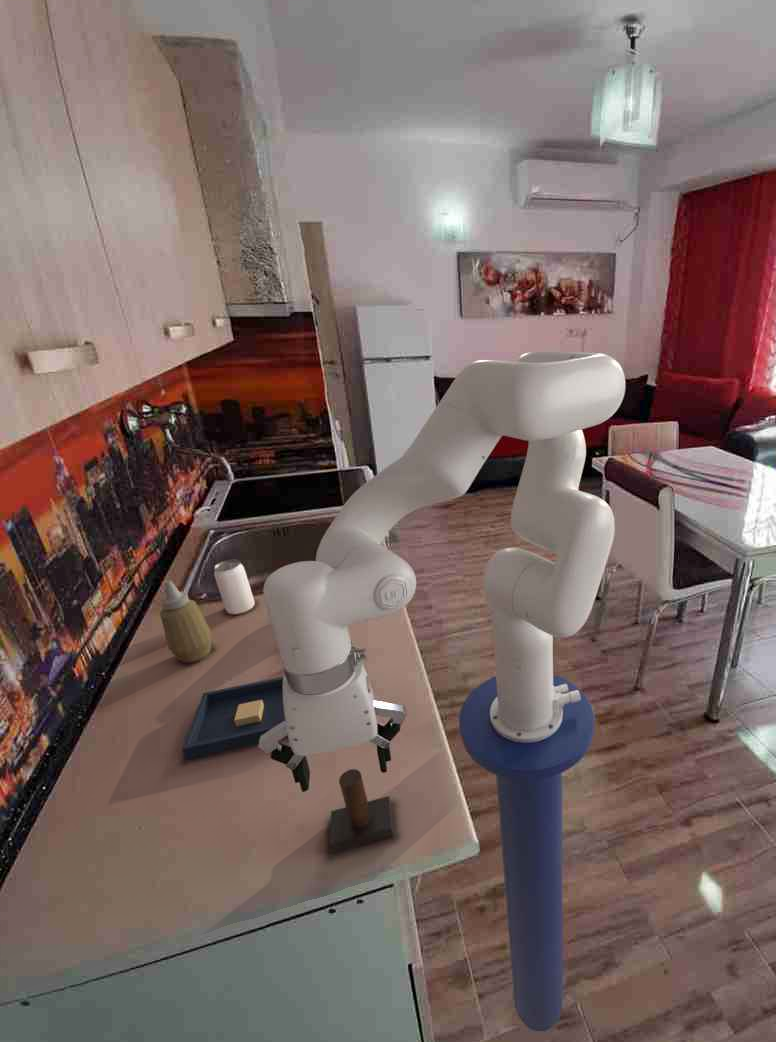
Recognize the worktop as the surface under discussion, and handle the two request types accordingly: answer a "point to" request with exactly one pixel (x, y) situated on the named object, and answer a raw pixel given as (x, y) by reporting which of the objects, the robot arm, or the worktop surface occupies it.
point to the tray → (217, 716)
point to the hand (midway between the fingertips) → (345, 773)
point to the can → (234, 587)
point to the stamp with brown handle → (359, 816)
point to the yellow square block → (249, 713)
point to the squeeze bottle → (184, 626)
